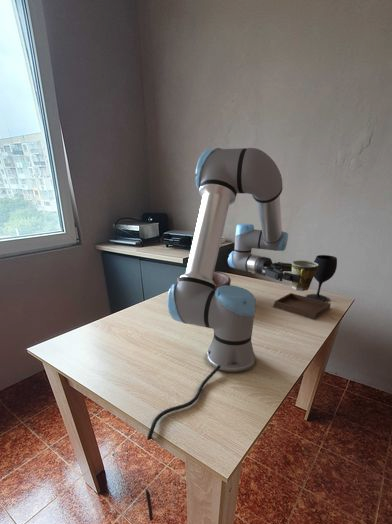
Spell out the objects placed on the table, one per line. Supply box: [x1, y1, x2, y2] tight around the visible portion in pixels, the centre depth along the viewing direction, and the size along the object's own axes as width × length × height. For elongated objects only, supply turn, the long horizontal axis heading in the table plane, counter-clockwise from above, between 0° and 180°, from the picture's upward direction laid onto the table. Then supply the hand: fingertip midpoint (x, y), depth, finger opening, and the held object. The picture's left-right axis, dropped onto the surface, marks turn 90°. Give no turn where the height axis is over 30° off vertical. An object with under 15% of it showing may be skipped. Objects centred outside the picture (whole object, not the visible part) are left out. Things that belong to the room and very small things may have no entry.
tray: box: [273, 292, 331, 321], centre depth 131 cm, size 16×20×3 cm
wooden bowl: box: [176, 271, 232, 290], centre depth 137 cm, size 25×25×10 cm
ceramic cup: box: [291, 260, 319, 292], centre depth 115 cm, size 13×10×10 cm
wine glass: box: [305, 254, 338, 303], centre depth 137 cm, size 10×10×20 cm
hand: (307, 275), depth 113 cm, fingers closed on ceramic cup, 12 cm apart
